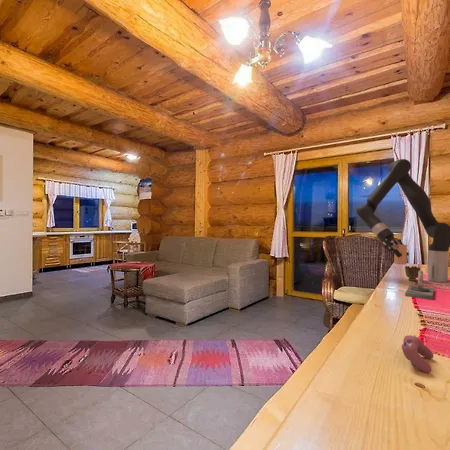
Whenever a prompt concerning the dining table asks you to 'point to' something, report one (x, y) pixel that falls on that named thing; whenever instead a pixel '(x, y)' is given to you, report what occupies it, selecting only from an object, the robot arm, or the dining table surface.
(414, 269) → the bronze rounded piece
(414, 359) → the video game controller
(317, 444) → the dining table surface
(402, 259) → the copper collar
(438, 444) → the dining table surface
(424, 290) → the shaft stand
